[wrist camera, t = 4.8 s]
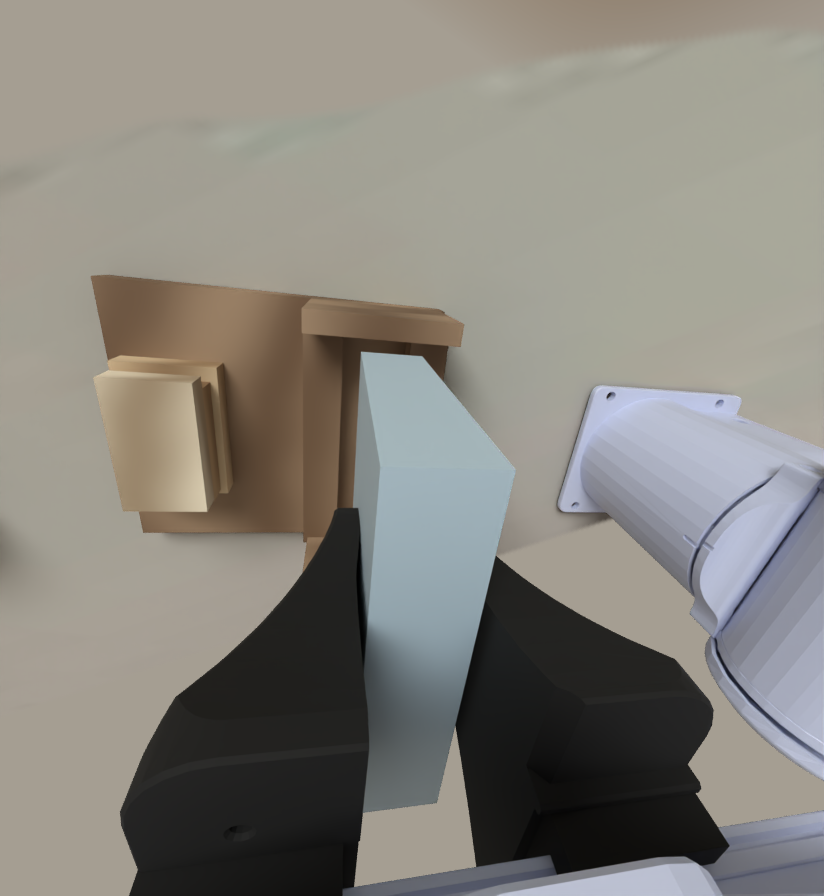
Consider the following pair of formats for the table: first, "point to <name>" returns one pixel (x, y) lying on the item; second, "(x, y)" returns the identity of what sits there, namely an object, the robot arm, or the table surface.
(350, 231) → the table surface
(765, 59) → the table surface
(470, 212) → the table surface
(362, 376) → the tall sheet
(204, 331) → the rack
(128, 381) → the offcut stack
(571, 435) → the table surface
